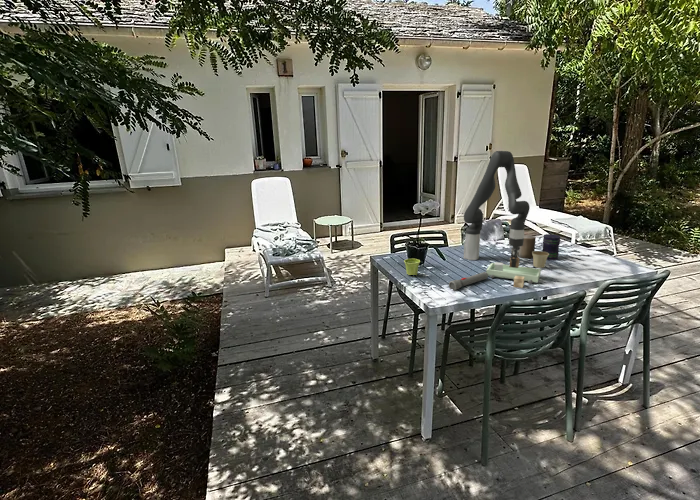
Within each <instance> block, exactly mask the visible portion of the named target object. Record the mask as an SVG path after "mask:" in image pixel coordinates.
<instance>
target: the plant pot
mask: <svg viewBox="0 0 700 500" xmlns="http://www.w3.org/2000/svg"><path fill="white" fill-rule="evenodd" d="M403 262H404V265H405V271H406V275H407V274H408V275H416V276H418V272H419V265H420V263H421V260H420V259H417V258H407V259H404V260H403ZM408 275H407V276H408Z"/></svg>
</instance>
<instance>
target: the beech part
mask: <svg viewBox="0 0 700 500" xmlns="http://www.w3.org/2000/svg"><path fill="white" fill-rule="evenodd" d="M524 285H525V281H524V277H521V276H515V278H514V279H513V288H518V289H523V287H524Z"/></svg>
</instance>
